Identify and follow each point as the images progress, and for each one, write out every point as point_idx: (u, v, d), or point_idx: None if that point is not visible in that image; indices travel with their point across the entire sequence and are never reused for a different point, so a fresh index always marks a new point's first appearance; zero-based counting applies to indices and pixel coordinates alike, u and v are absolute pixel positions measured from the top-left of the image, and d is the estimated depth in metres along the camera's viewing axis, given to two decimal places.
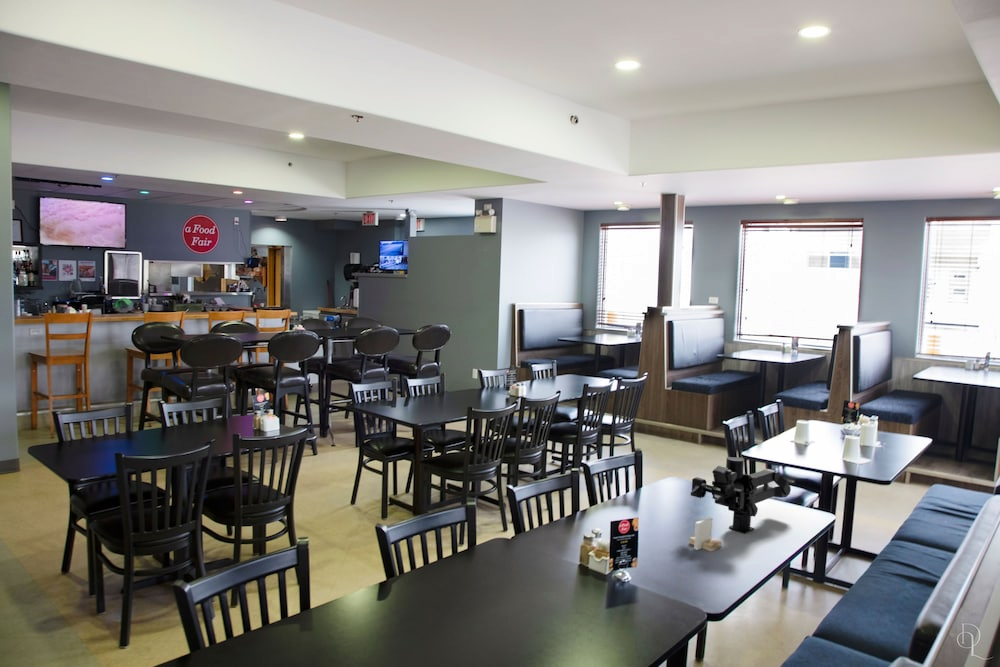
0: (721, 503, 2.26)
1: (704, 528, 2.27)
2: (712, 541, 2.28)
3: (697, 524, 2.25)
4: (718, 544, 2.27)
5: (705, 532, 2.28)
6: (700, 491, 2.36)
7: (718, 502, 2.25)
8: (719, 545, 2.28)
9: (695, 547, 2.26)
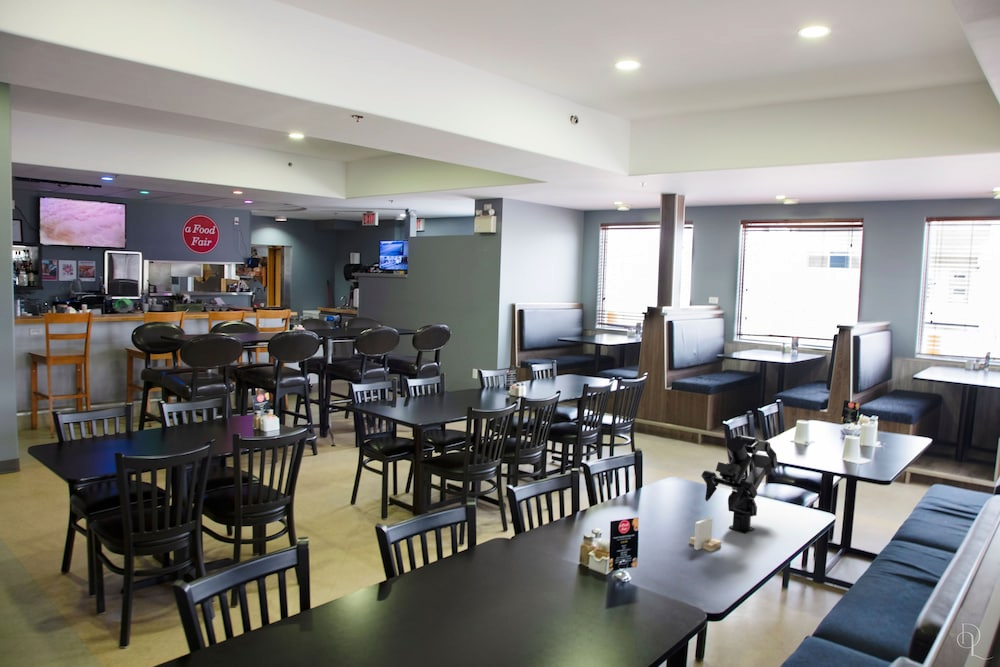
0: (736, 503, 2.30)
1: (704, 528, 2.27)
2: (712, 541, 2.28)
3: (697, 524, 2.25)
4: (718, 544, 2.27)
5: (705, 532, 2.28)
6: (713, 486, 2.39)
7: (733, 506, 2.29)
8: (719, 545, 2.28)
9: (695, 547, 2.26)
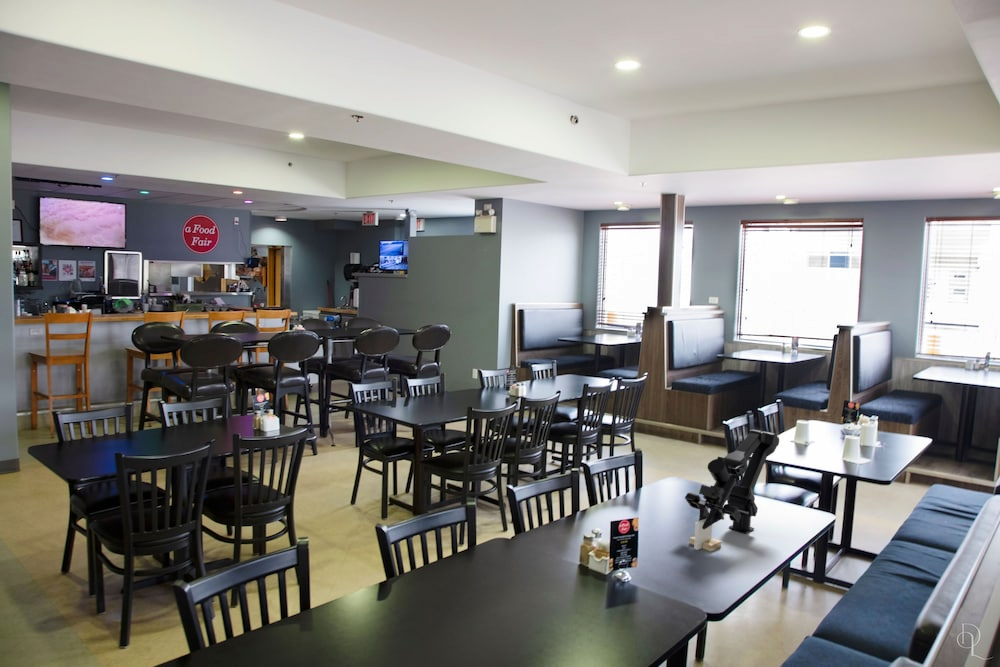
0: (709, 524, 2.27)
1: None
2: (712, 541, 2.28)
3: (697, 524, 2.25)
4: (718, 544, 2.27)
5: (705, 532, 2.28)
6: (706, 512, 2.31)
7: (706, 527, 2.27)
8: (719, 545, 2.28)
9: (695, 547, 2.26)
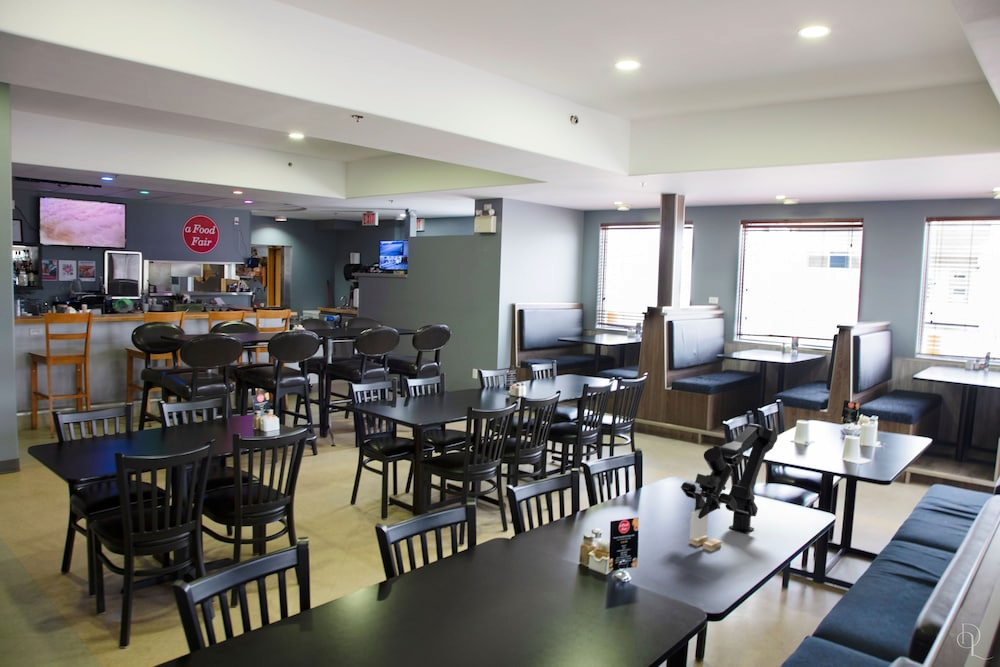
0: (705, 513, 2.25)
1: None
2: (712, 541, 2.28)
3: (693, 513, 2.23)
4: (718, 544, 2.27)
5: (701, 522, 2.26)
6: (702, 501, 2.28)
7: (702, 516, 2.25)
8: (719, 545, 2.28)
9: (691, 537, 2.24)
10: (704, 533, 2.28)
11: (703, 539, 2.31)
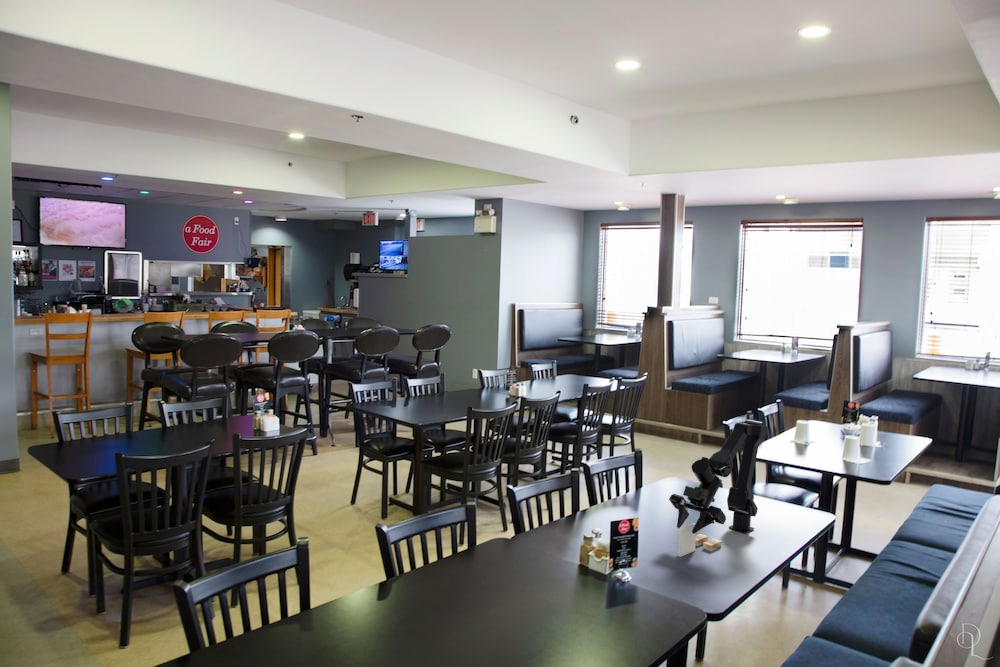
0: (699, 528, 2.20)
1: (688, 534, 2.21)
2: (712, 541, 2.28)
3: (681, 530, 2.19)
4: (718, 544, 2.27)
5: (689, 538, 2.22)
6: (685, 512, 2.26)
7: (696, 531, 2.19)
8: (719, 545, 2.28)
9: (678, 554, 2.20)
10: (692, 549, 2.24)
11: (703, 539, 2.31)
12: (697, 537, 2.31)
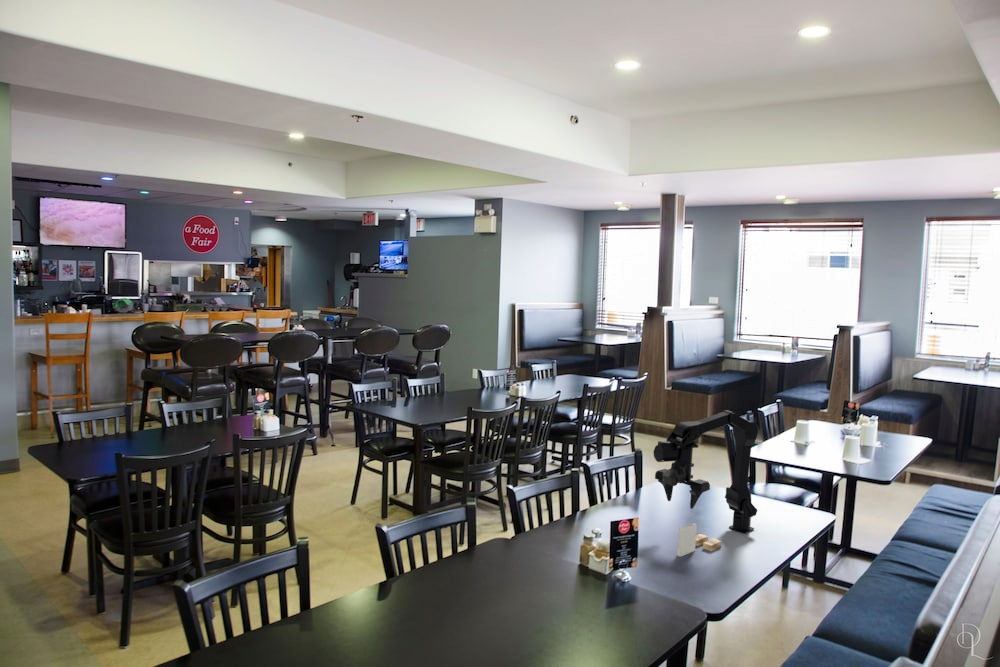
0: (695, 501, 2.32)
1: (688, 534, 2.21)
2: (712, 541, 2.28)
3: (681, 530, 2.19)
4: (718, 544, 2.27)
5: (689, 538, 2.22)
6: None
7: (693, 505, 2.32)
8: (719, 545, 2.28)
9: (678, 554, 2.20)
10: (692, 549, 2.24)
11: (703, 539, 2.31)
12: (697, 537, 2.31)
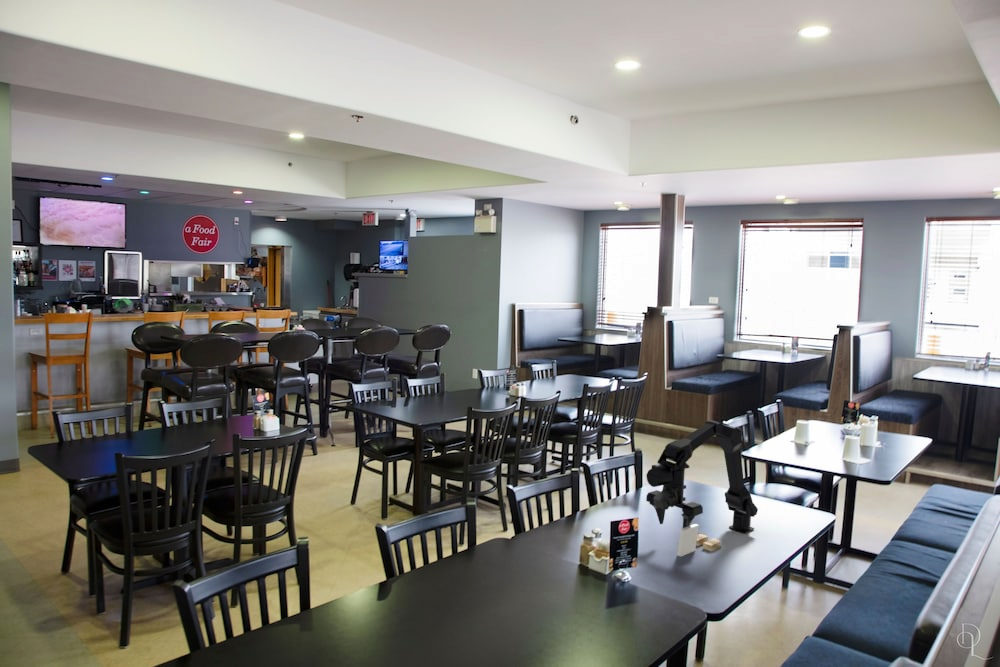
0: (688, 524, 2.23)
1: (689, 535, 2.21)
2: (712, 541, 2.28)
3: (683, 531, 2.19)
4: (718, 544, 2.27)
5: (690, 539, 2.22)
6: None
7: None
8: (719, 545, 2.28)
9: (678, 554, 2.20)
10: (692, 549, 2.24)
11: (703, 539, 2.31)
12: (697, 537, 2.31)
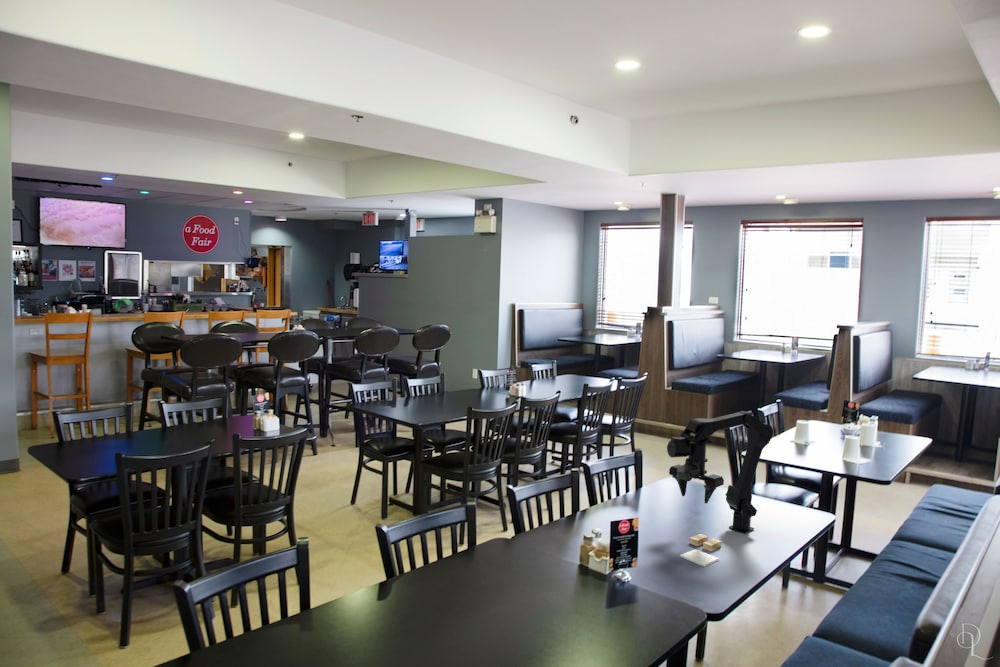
0: (709, 496, 2.35)
1: None
2: (712, 541, 2.28)
3: None
4: (718, 544, 2.27)
5: None
6: None
7: (708, 500, 2.35)
8: (719, 545, 2.28)
9: None
10: None
11: (703, 539, 2.31)
12: (697, 537, 2.31)
